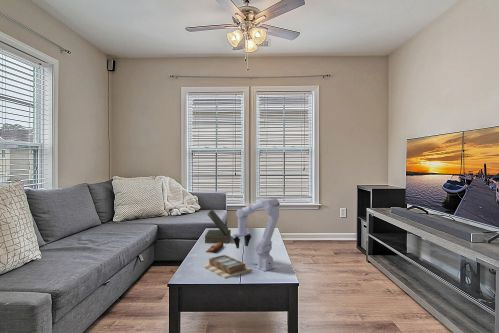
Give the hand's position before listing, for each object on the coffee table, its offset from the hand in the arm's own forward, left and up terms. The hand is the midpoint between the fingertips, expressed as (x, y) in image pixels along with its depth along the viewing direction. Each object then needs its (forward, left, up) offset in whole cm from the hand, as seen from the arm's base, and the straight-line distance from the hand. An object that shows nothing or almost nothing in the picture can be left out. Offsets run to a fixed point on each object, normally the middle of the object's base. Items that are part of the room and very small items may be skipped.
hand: (242, 247), depth 196 cm
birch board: (-5, +16, -9) cm, 19 cm away
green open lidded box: (+56, -18, -10) cm, 60 cm away
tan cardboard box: (-5, +16, -8) cm, 19 cm away
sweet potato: (+34, 0, -10) cm, 36 cm away
